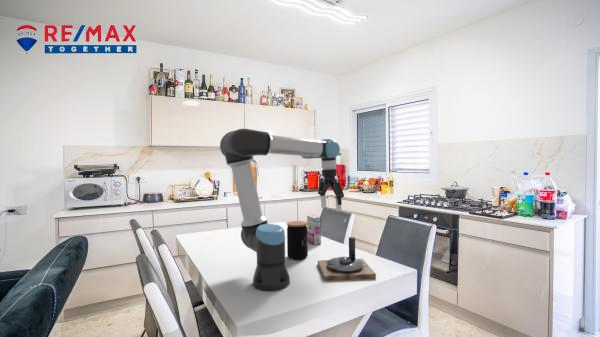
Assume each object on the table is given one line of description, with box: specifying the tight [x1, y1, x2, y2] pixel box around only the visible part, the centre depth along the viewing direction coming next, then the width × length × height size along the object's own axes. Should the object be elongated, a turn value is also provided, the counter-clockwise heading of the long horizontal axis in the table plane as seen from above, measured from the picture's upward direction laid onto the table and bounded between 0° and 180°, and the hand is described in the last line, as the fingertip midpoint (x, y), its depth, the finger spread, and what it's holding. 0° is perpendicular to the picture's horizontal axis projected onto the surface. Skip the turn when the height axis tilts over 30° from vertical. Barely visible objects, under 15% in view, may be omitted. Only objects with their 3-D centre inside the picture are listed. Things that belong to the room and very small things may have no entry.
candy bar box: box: [306, 214, 322, 246], centre depth 183 cm, size 11×5×16 cm, turn 21°
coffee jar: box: [286, 220, 309, 261], centre depth 155 cm, size 11×11×18 cm
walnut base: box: [317, 258, 377, 282], centre depth 134 cm, size 22×20×2 cm
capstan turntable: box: [327, 236, 363, 273], centre depth 134 cm, size 16×16×12 cm
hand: (331, 209), depth 154 cm, fingers open, 13 cm apart
